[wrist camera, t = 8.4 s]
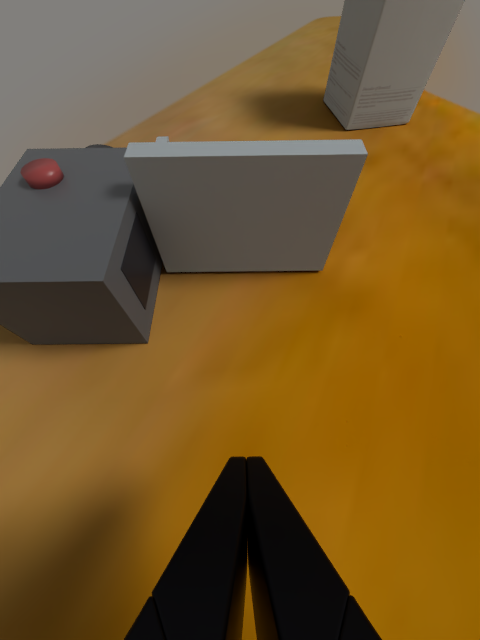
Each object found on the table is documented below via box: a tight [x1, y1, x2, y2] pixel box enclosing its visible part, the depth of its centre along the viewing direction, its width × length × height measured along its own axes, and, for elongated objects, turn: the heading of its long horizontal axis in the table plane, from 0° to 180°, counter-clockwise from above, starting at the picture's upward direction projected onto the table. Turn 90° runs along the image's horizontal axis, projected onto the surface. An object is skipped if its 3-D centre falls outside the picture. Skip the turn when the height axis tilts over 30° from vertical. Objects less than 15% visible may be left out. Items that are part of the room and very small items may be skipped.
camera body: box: [0, 144, 163, 344], centre depth 16 cm, size 12×7×7 cm, turn 0°
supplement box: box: [323, 0, 465, 130], centre depth 25 cm, size 7×7×13 cm
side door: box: [124, 137, 368, 272], centre depth 17 cm, size 6×11×8 cm, turn 90°
